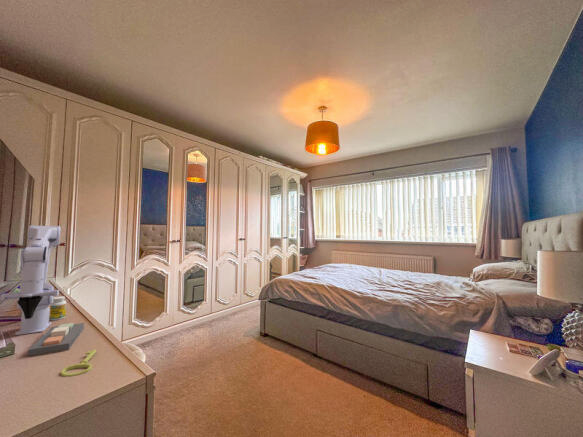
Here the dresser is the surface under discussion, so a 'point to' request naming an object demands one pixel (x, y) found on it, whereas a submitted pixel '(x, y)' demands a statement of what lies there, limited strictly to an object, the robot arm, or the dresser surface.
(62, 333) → the cream key
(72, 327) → the sage key
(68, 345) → the grey flat frame
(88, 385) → the dresser surface
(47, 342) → the terracotta key
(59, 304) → the supplement bottle
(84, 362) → the key
